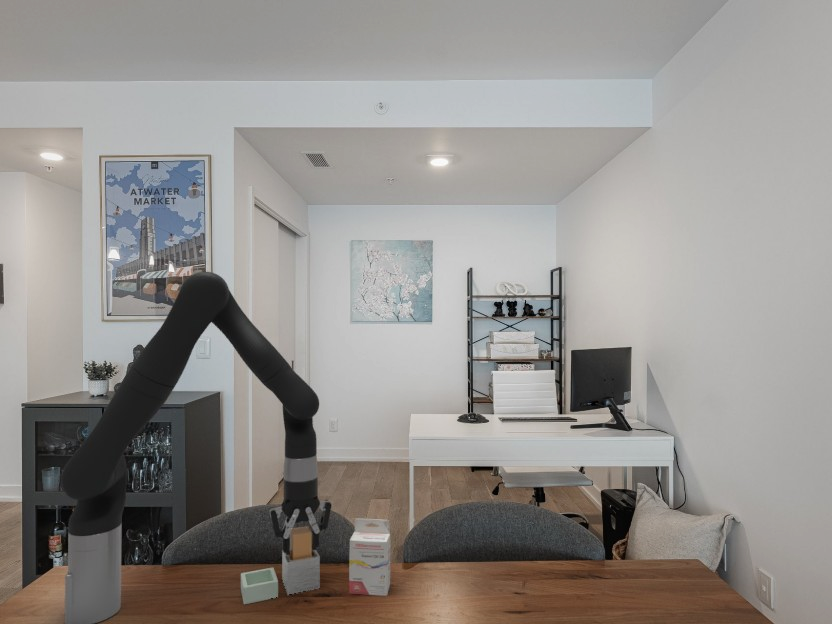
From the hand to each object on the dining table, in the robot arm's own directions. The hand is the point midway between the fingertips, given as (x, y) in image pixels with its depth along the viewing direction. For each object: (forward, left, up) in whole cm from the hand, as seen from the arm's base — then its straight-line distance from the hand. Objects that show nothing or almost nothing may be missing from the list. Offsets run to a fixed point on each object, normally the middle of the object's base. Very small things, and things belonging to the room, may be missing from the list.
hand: (300, 551), depth 117 cm
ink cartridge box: (+14, -8, -8) cm, 18 cm away
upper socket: (0, 0, -7) cm, 7 cm away
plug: (0, 0, -3) cm, 3 cm away
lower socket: (-9, 0, -7) cm, 12 cm away
